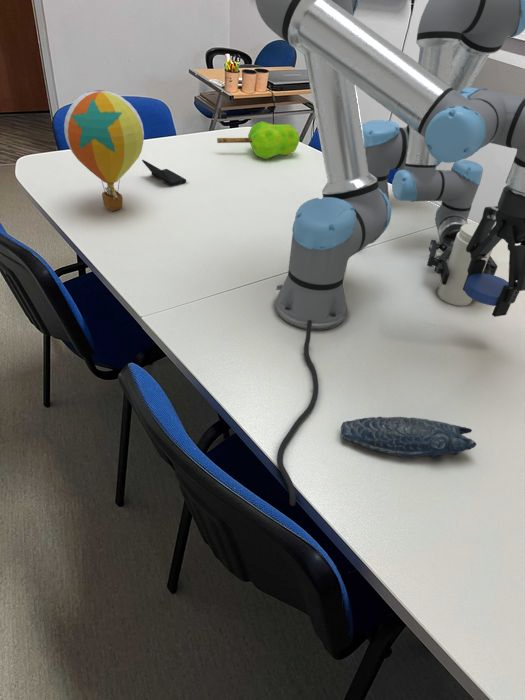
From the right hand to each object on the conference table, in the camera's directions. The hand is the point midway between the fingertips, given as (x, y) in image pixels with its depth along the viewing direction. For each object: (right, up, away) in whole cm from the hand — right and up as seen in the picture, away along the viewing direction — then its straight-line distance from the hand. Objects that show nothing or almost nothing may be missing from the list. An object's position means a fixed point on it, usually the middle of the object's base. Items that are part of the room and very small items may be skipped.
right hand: (466, 282), depth 114 cm
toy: (-87, +25, +31) cm, 95 cm away
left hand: (-1, -5, -12) cm, 13 cm away
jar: (0, -2, +8) cm, 8 cm away
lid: (-1, -3, -14) cm, 15 cm away
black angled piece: (-76, +39, +50) cm, 99 cm away
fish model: (-22, -30, -30) cm, 48 cm away
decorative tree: (-47, +56, +75) cm, 105 cm away
